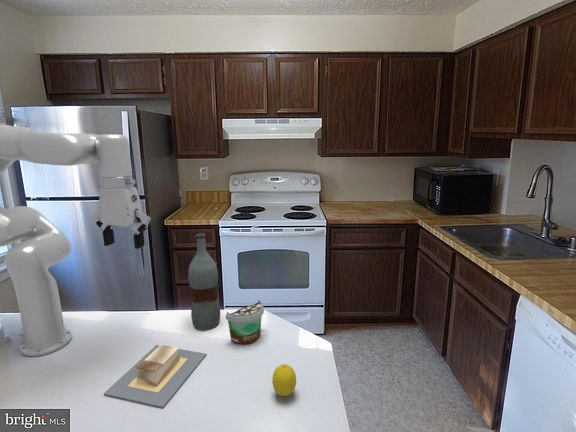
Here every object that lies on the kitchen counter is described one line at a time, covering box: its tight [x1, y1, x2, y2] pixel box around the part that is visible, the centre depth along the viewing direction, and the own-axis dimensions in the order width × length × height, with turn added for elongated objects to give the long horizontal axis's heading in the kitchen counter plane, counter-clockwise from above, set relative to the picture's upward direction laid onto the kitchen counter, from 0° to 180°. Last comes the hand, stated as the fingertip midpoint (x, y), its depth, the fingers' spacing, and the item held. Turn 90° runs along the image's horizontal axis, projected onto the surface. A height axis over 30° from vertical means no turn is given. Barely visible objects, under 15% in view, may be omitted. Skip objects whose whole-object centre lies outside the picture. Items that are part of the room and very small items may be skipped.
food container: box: [225, 299, 265, 346], centre depth 102 cm, size 12×6×10 cm, turn 131°
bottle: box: [187, 233, 221, 331], centre depth 109 cm, size 9×9×30 cm
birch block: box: [135, 344, 180, 387], centre depth 89 cm, size 6×10×4 cm, turn 164°
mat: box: [103, 344, 208, 410], centre depth 89 cm, size 16×20×1 cm
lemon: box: [271, 363, 297, 397], centre depth 81 cm, size 6×6×8 cm
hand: (124, 245), depth 94 cm, fingers open, 9 cm apart
